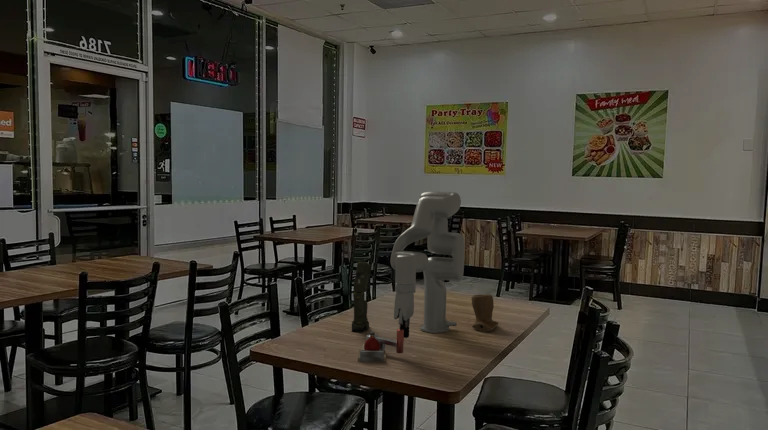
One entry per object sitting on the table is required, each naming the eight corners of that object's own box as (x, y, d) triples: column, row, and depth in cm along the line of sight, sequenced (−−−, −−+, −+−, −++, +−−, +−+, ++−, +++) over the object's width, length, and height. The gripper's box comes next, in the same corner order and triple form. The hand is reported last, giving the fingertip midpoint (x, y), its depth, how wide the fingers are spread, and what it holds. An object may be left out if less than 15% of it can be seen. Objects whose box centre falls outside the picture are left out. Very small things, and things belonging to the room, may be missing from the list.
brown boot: (475, 322, 261) (476, 290, 260) (500, 326, 256) (501, 293, 255) (465, 330, 247) (466, 296, 246) (492, 334, 242) (493, 299, 241)
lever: (363, 345, 215) (364, 323, 215) (371, 343, 219) (371, 321, 218) (399, 354, 205) (399, 331, 205) (406, 351, 209) (406, 329, 208)
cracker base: (384, 347, 219) (385, 330, 219) (385, 361, 202) (386, 343, 202) (358, 347, 219) (359, 330, 219) (357, 361, 202) (357, 342, 202)
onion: (363, 354, 210) (363, 332, 210) (379, 354, 211) (379, 332, 210) (364, 359, 205) (364, 337, 204) (380, 359, 205) (380, 337, 205)
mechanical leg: (363, 332, 236) (368, 260, 241) (346, 331, 238) (352, 260, 243) (370, 332, 250) (375, 264, 255) (354, 331, 251) (359, 263, 256)
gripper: (402, 283, 218) (401, 331, 219) (388, 290, 204) (387, 341, 205) (421, 285, 215) (419, 333, 217) (408, 292, 201) (407, 343, 203)
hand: (404, 336), depth 211 cm, fingers closed
